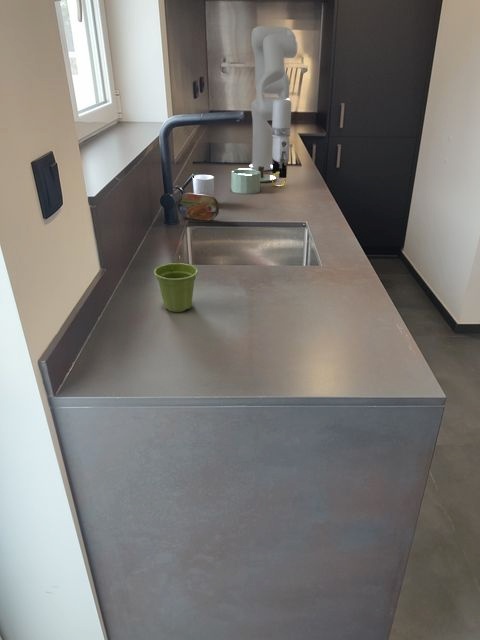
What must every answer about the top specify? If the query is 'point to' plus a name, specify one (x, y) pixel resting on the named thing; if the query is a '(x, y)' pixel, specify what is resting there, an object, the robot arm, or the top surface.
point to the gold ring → (278, 185)
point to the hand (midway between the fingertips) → (279, 175)
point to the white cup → (203, 184)
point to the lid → (264, 175)
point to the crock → (245, 181)
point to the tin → (198, 206)
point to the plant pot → (176, 285)
